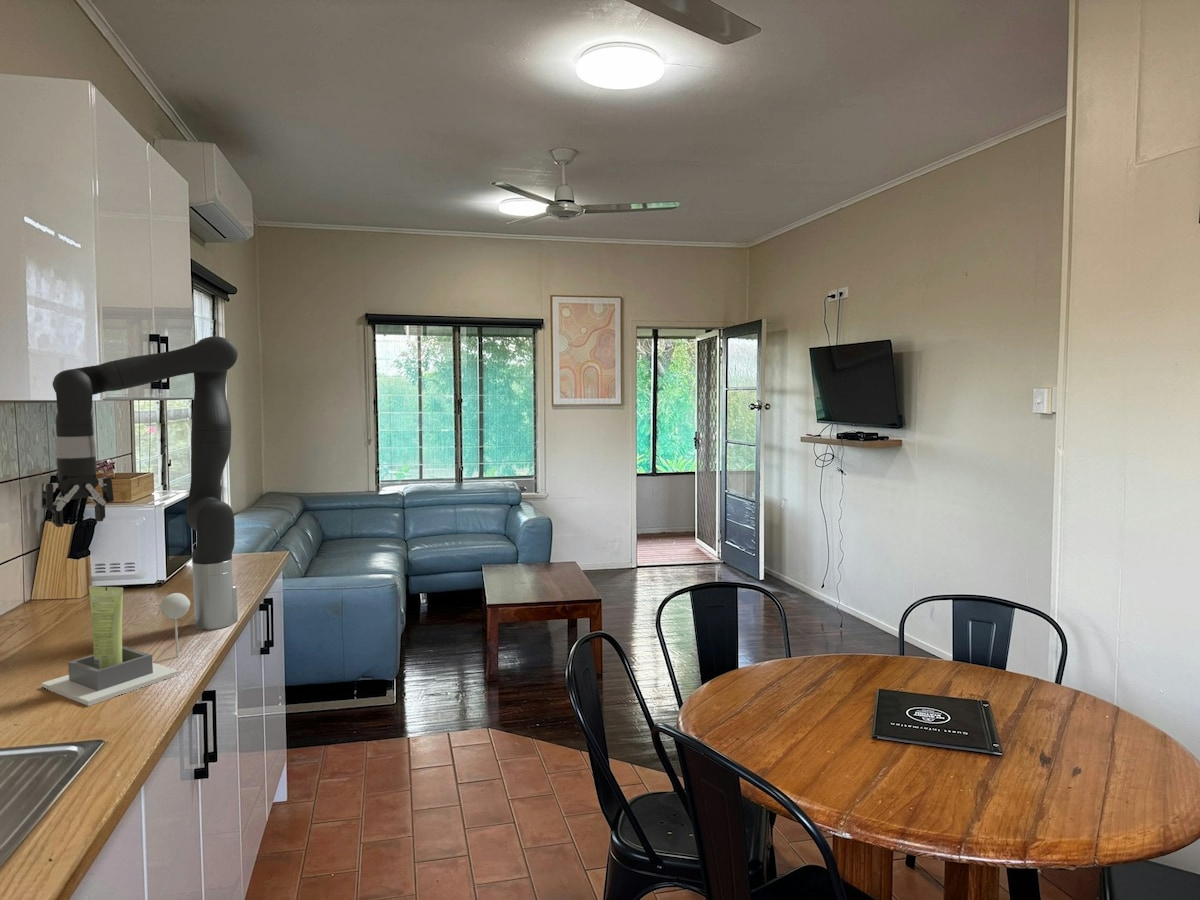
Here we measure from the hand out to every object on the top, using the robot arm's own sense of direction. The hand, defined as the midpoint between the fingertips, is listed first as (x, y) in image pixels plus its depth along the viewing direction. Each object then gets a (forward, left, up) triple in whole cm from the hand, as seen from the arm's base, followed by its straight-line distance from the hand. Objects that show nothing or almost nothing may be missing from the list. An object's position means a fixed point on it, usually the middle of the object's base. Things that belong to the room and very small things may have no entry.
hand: (80, 523), depth 174 cm
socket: (+8, +26, -30) cm, 41 cm away
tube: (+8, +26, -29) cm, 40 cm away
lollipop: (-7, +24, -30) cm, 39 cm away
